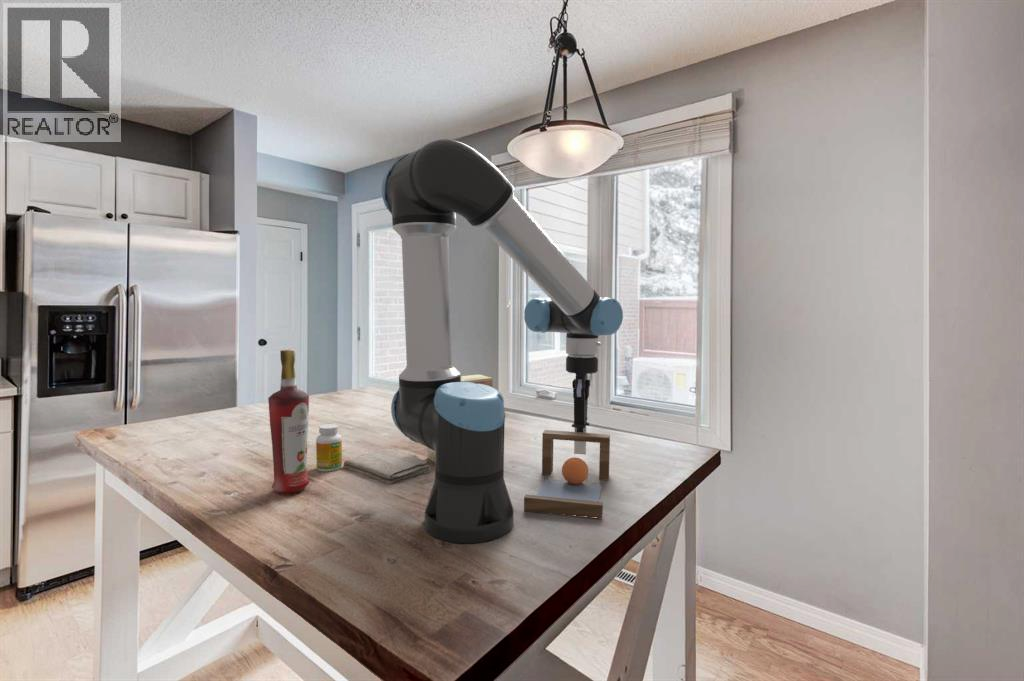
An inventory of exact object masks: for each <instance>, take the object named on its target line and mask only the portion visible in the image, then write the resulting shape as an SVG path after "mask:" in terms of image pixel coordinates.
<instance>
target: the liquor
mask: <svg viewBox="0 0 1024 681" xmlns="http://www.w3.org/2000/svg"><path fill="white" fill-rule="evenodd" d="M279 351H280V353H279V355H280V363H281V376H280V390H277V391H276V392H273V393H272V394H271V395H270V396H269V397H268V398H267V400H268V414H269V415H268V416H269V427H270V436H271V437H270V438H271V450H272V462H273V483H272V485H271V488H272V489H273V490H275V491H276V492H277V493H278V494H280V495H282V494H284V495H285V496H287V495H286V494H290V495H296V494H298V492H299V493H300V491H301V492H302V491H304V489H305V488H306V487H307V486H308V485H309V484H310V479H309V478H308V438H309V437H308V436H309V419H310V418H309V415H310V414H309V409H310V407H309V406H310V405H309V404H310V395H309V394H308V393H306V392H305V391H304V390H301V389H298V385H297V377H296V371H295V365H296V364H295V363H296V350H295V349H283V350H282V349H281V350H279ZM295 493H296V494H295ZM284 495H283V496H284Z"/></svg>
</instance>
